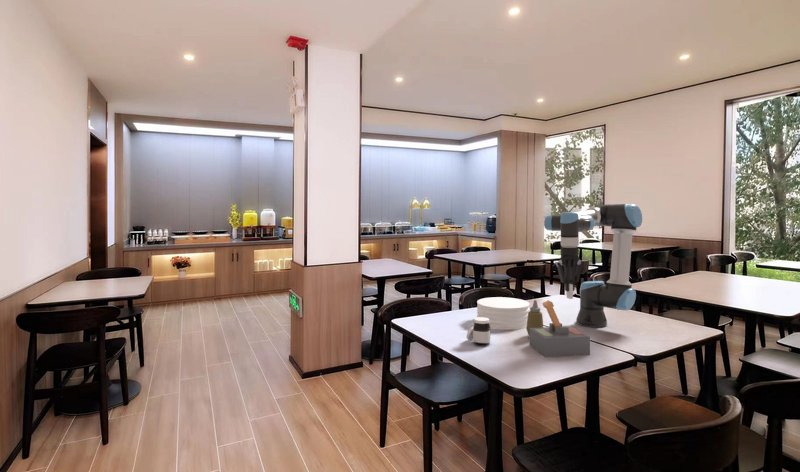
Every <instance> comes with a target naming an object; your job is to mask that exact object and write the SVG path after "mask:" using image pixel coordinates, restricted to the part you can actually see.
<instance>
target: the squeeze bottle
mask: <svg viewBox="0 0 800 472" xmlns="http://www.w3.org/2000/svg"><path fill="white" fill-rule="evenodd" d="M529 308H530V311H529V312H528V319H527V327H526V328H525V329H526V332H527V335H528V336H529V330H530V328H541V327H544V320H543V317H544V316H543V313H542V312H541V308H540V307H539V305H538V301H537V299H534V300H533V304H532V306H529Z"/></svg>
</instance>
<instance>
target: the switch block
mask: <svg viewBox="0 0 800 472" xmlns="http://www.w3.org/2000/svg"><path fill="white" fill-rule="evenodd" d="M560 324H561V327H554V325H553V323H551V322H550V323H549V324H548V325H549V326H547V327H544V326H543V327H541V328H530V330H529V335H528V339H529V340H528V342H529V346H530V347H531V348H532V349H534V350H535V351H536V352H538V353H539V354H540V355H542V356H543V357H544V358H552V357H553V358H554V357H556V358H558V357H574V356H576V357H577V356H590V355H591V336H590V335H588V334H586V333H585V332H583V331H580V330H579V329H577V328H575V327H573V326H569V325H568V326H567V325H566V326H563V323H561V322H560Z"/></svg>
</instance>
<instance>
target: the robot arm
mask: <svg viewBox="0 0 800 472" xmlns="http://www.w3.org/2000/svg"><path fill="white" fill-rule="evenodd" d="M642 223H643V213H642V210H641V209H640V207H639V206H638V205H637V204H634V203H621V204H620V203H619V204H618V203H616V204H615V203H613V204H611V203H610V204H608V203H607V204H602V205H597V206H593V207H589V208H586V210H582V211H564V212H561V213H560V214H554V215H553V214H552V215H550V214H549V215H547V216H545V218H544V222H543V225H544V228H545V230H547V231H552V232H553V231H555V232H556V231H557V232H560V258H559V261H555V262H554V265H555V266H556V269H557V272H558V275H559V280H560V283H563V284H564V290H565V292H566V299H569V300H572V299H574V294H573V293H574V291H575V285H576V283H579V282H580V278H581V273H582V268H583V266H584V264H585V262H584V261H583V260H581V259H580V257H579V254H580V253H579V250H580V249H579V248H580V247H578V246H579V245H580V244H579V239H580V238H579V237H580V236H579V234H580V233H581V232H589V231H591V230H592V229H593V228H594V226H601V227H610V230H611V231H612V233H613V241H612V251H611V252H612V253H611V263H610V273H609V275H610V276H609V279H608V280H607V281H606V284H605V281H603V280H591V281H590V280H589V281H583V282H581V284H580V289H579V294H580V297H579V299H580V302H579V311H578V313H577V317H576V319H575V320H576V321H575V322H576V323H577V324H578V325H580V326H583V327H589V328H604V327H607V326H608V320H607V317H606V314H605V310H604V309H605V308H608V309H613V310H617V311H629V310H631V309H632V307H633V306H634V304H635V301H636V298H637V293H636V289H634V288H633V287H632V286H633V284H632V283H631V282H630V281H629V280H630V271H631V270H630V268H631V258H632V256H631V255H632V245H633V235H634V233H636V232H637V228H640V227H641V225H642Z"/></svg>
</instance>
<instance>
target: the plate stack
mask: <svg viewBox="0 0 800 472" xmlns="http://www.w3.org/2000/svg"><path fill="white" fill-rule="evenodd" d="M476 303H477V306H476V314H477V315H476V318H477V317H485V318H488V319H489V324H490V329H494V330H501V331H502V330H503V331H504V330H505V331H510V330H511V331H513V330H516V331H517V330H522V329H526V327H527V319H528V312H530V307H531V305H530V302H529V301H528V300H524V299H521V298H514V297H505V296H504V297H503V296H496V297H495V296H494V297H484V298H480V299H477V301H476Z"/></svg>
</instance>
